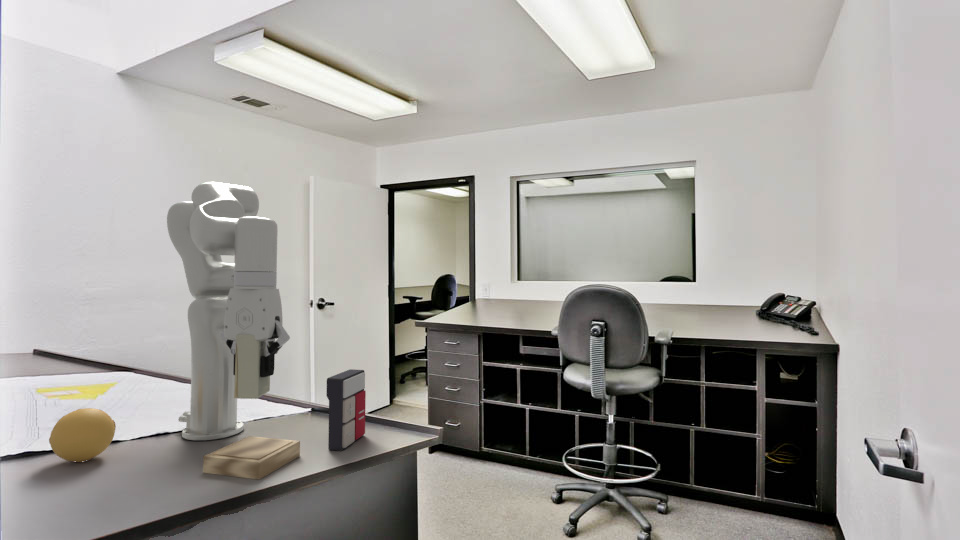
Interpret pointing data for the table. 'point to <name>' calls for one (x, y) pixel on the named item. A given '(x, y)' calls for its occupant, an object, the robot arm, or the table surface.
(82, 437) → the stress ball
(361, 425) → the grey red panelled box
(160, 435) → the table surface
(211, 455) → the oak plinth
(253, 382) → the skincare box
